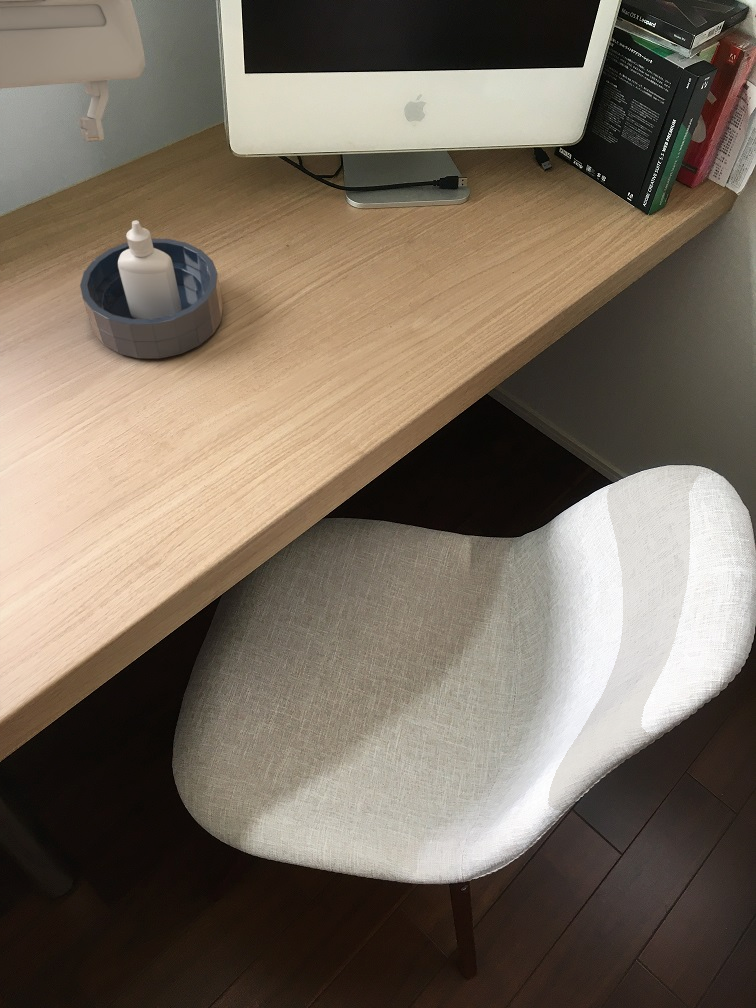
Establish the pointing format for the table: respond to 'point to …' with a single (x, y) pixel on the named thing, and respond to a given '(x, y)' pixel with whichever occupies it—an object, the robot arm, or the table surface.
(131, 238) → the eye dropper bottle
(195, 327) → the bowl
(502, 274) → the table surface
